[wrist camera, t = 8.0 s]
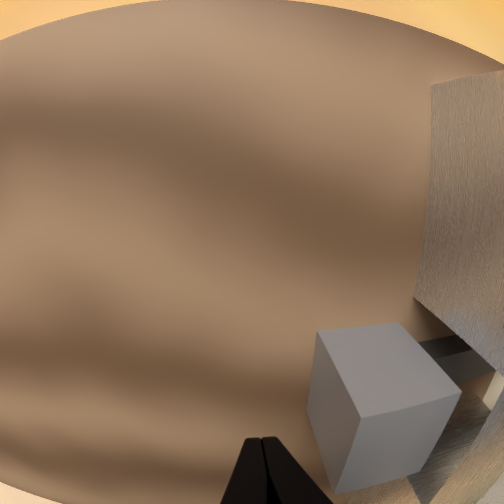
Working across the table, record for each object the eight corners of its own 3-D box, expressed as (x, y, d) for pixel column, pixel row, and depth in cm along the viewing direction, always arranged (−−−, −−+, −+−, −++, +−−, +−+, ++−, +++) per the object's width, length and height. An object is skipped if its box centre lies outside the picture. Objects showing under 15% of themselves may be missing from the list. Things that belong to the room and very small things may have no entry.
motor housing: (431, 472, 14) (470, 544, 8) (345, 497, 14) (375, 586, 8) (532, 123, 8) (656, 139, 2) (430, 85, 8) (606, 60, 2)
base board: (581, 386, 18) (585, 391, 17) (-14, 465, 13) (-18, 473, 12) (637, 171, 11) (644, 173, 10) (-116, 117, 6) (-128, 118, 5)
